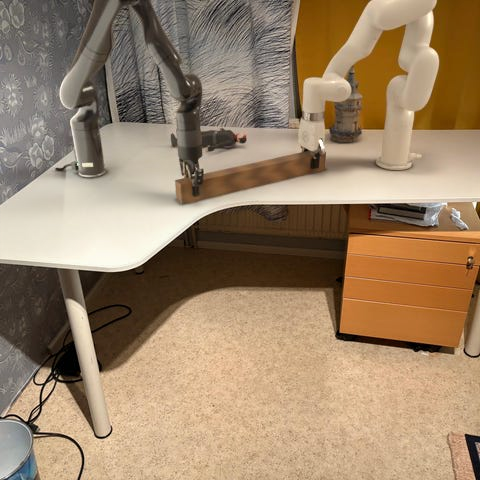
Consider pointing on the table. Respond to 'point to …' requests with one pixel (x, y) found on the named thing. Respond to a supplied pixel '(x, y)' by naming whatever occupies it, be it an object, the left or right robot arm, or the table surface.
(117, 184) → the table surface
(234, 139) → the toy
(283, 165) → the post
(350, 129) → the miniature building
